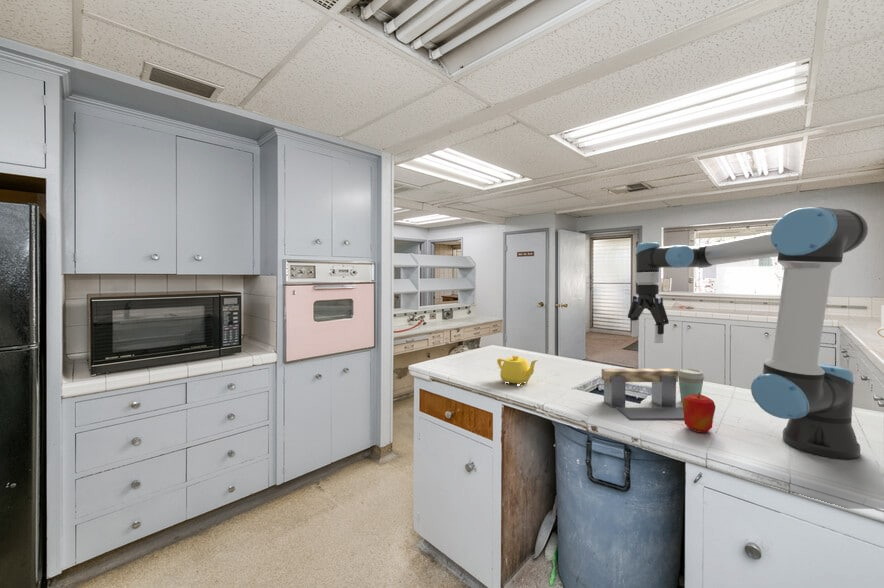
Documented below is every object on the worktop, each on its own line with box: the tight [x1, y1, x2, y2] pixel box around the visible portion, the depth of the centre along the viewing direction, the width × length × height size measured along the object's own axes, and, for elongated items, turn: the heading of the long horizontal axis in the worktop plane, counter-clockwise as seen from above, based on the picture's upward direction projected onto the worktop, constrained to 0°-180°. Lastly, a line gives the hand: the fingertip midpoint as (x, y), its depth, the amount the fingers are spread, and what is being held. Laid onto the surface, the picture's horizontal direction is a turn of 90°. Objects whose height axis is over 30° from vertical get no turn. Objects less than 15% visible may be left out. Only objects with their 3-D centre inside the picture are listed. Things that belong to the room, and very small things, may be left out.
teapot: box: [496, 355, 539, 384], centre depth 168 cm, size 13×20×12 cm
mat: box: [616, 406, 684, 421], centre depth 128 cm, size 10×24×1 cm, turn 88°
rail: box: [601, 368, 679, 383], centre depth 138 cm, size 26×4×4 cm, turn 88°
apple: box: [681, 393, 716, 433], centre depth 115 cm, size 9×8×12 cm
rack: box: [603, 376, 677, 408], centre depth 138 cm, size 7×23×12 cm, turn 88°
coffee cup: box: [677, 368, 705, 403], centre depth 139 cm, size 8×8×12 cm
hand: (646, 339), depth 141 cm, fingers open, 13 cm apart
